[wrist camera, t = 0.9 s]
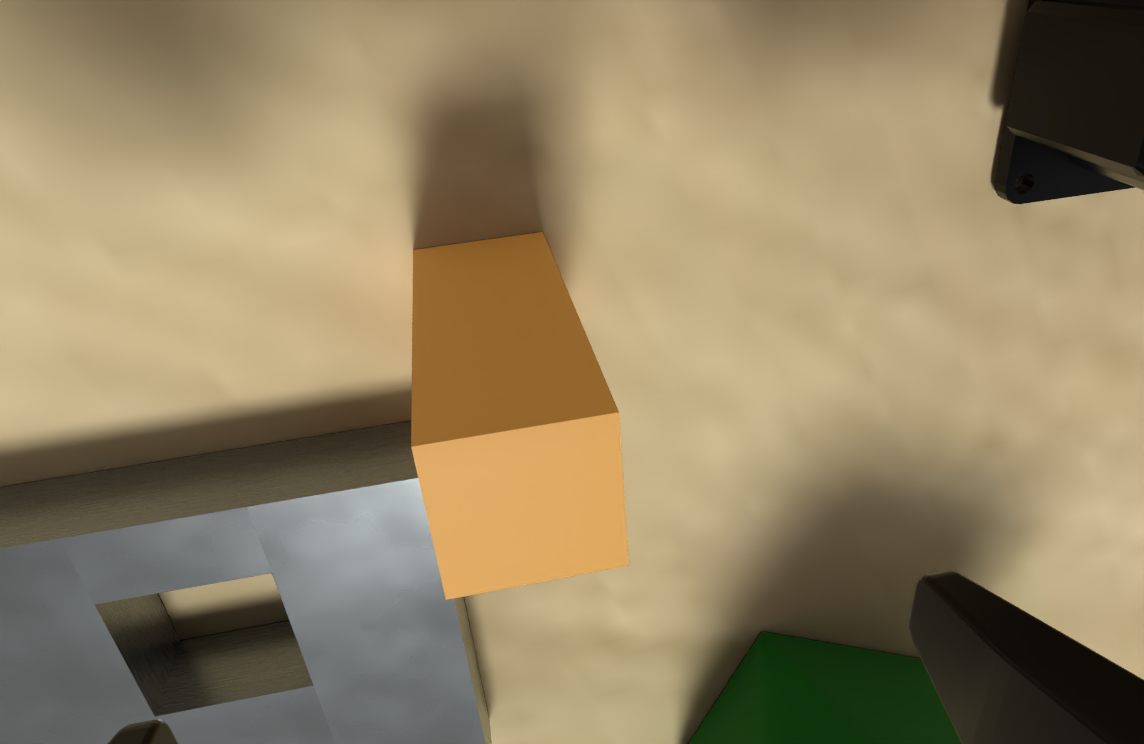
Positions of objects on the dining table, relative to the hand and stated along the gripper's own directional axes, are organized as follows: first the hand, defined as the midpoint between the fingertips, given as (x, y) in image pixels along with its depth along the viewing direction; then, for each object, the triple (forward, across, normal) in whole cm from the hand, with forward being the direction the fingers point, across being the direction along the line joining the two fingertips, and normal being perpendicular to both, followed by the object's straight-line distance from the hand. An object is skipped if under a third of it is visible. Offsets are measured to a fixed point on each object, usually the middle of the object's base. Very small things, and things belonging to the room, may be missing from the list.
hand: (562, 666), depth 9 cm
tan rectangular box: (+11, 0, 0) cm, 11 cm away
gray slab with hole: (+11, +9, +9) cm, 17 cm away
